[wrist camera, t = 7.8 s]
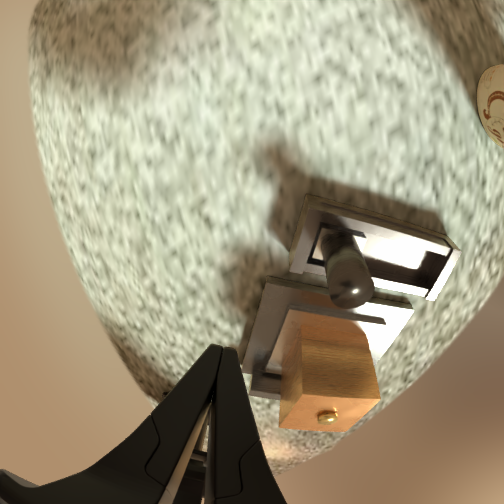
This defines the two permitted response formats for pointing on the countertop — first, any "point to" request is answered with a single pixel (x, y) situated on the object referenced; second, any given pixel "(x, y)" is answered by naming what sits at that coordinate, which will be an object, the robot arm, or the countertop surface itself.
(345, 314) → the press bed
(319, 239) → the lever
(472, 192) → the countertop surface
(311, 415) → the block
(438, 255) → the lever track
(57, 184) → the countertop surface
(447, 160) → the countertop surface
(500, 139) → the mug
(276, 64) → the countertop surface
